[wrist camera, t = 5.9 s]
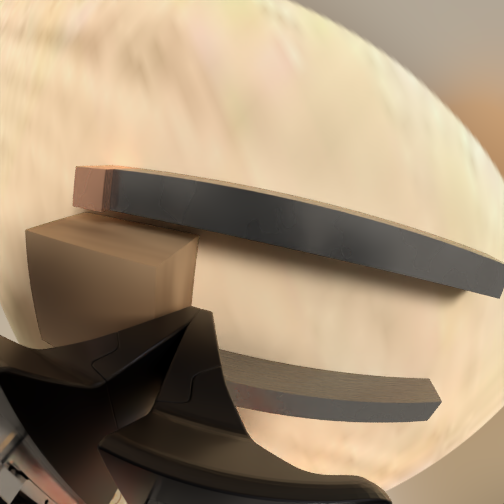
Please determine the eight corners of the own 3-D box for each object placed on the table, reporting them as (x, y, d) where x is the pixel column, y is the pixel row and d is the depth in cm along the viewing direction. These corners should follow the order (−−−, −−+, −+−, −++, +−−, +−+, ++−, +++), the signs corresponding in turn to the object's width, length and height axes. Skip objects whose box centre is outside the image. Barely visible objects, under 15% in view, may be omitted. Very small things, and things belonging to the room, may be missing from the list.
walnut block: (188, 337, 12) (156, 392, 9) (88, 303, 13) (41, 339, 9) (199, 235, 11) (156, 267, 7) (85, 212, 11) (25, 229, 7)
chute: (416, 397, 12) (430, 426, 10) (109, 336, 13) (84, 360, 11) (486, 254, 9) (517, 270, 7) (112, 165, 10) (75, 166, 8)
